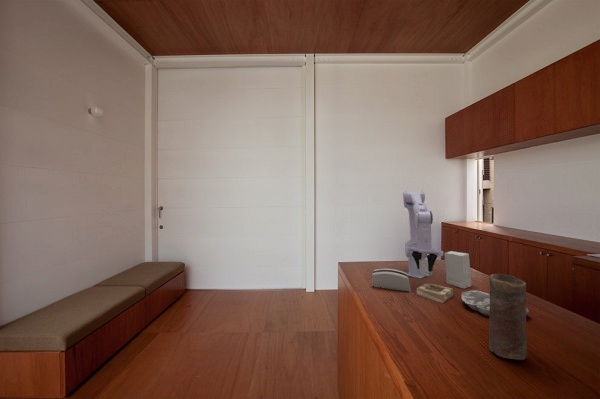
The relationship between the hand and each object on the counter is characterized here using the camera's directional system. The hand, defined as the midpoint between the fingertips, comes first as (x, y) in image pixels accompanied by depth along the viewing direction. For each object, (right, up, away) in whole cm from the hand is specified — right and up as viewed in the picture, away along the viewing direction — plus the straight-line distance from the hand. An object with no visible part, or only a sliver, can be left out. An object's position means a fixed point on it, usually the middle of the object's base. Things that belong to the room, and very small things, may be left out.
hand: (424, 270), depth 106 cm
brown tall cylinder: (-1, -10, -43) cm, 44 cm away
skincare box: (+18, -9, +6) cm, 21 cm away
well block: (+1, -9, -5) cm, 11 cm away
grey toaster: (-13, -10, +5) cm, 17 cm away
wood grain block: (+1, -2, +1) cm, 2 cm away
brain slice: (+14, -9, -18) cm, 25 cm away
